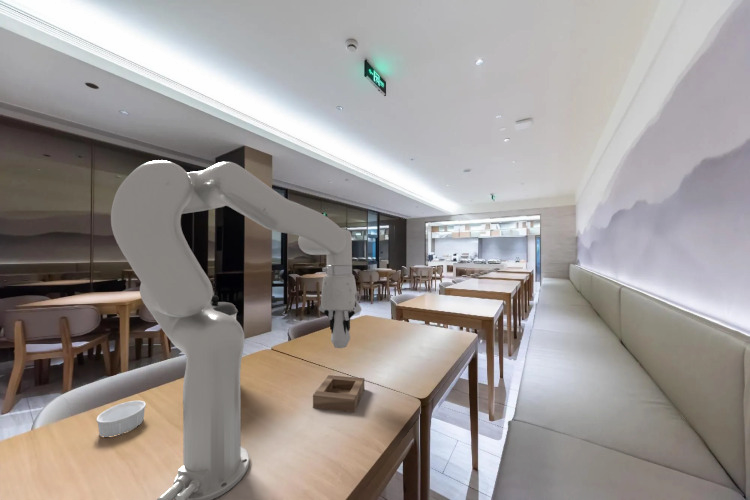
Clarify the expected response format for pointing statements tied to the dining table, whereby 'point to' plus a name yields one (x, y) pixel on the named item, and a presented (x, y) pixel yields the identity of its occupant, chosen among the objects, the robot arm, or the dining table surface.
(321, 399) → the socket block
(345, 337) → the salt shaker
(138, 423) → the ramekin
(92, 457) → the dining table surface
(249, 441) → the dining table surface
